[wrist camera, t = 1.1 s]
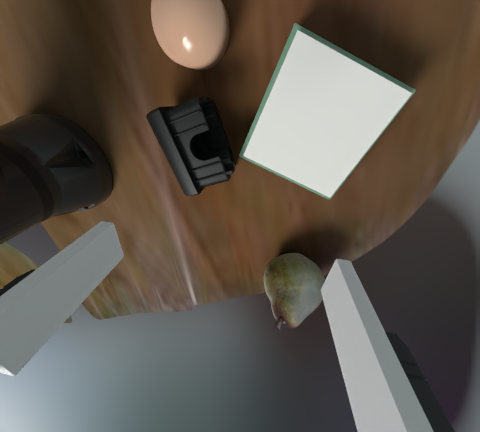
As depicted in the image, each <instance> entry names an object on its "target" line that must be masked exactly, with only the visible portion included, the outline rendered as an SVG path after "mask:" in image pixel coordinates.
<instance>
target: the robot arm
mask: <svg viewBox="0 0 480 432" xmlns="http://www.w3.org/2000/svg"><path fill="white" fill-rule="evenodd" d="M112 184H113V180H112V173H111V169H110V166H109V164H108V161H107V159H106V157H105V155H104V154H103V152H102V150H101V149H100V148H99V146H98V145H97V144H96V142H95V141H94V140H93V139H92V138H91V137H90V136H89V135H88V134H87V133H86V132H85V131H84V130H83V129H81V128H80V127H79V126H77V125H76V124H74V123H73V122H71V121H69V120H67V119H65V118H63V117H61V116H58V115H54V114H30V115H24V116H21V117H18V118H17V119H15V120H14V121H11V122H9V123H7V124H4V125H2V126H0V244H2V243H3V242H5V241H7V240H9V239H11V238H13V237H15V236H16V235H18V234H20V233H22V232H24V231H26V230H27V229H29V228H31V227H33V226H35V225H37V224H38V223H40V222H42V221H44V220H46V219H48V218H50V217H53V216H58V215H63V214H67V213H72V212H75V211H82V210H87V209H90V208H93V207H95V206H97V205H98V204H100V203H102V202H103V201H105V200H106V199H107V198H108V197H109V195H110V193H111V190H112ZM123 257H124V255H123V252H122V249H121V245H120V242H119V239H118V235H117V232H116V229H115V226H114V223H110V222H104V221H101V222H100V223H99V224H97V225H96V226H94V227H93V228H92V229H90V230H89V231H88V232H86V233H85V234H84V235H82V236H81V237H80V238H78V239H77V240H76V241H74V242H73V243H72V244H70V245H69V246H67V247H66V248H65V249H63V250H62V251H61V252H59V253H58V254H57V255H55V256H54V257H53V258H51V259H50V260H49V261H47V262H46V263H45V264H43V265H42V266H41V267H39V268H38V269H36V270H34V269H33V270H31V271H29V272H27V273H25V274H23V275H21V276H19V277H17V278H15V279H14V280H13V281H11V282H10V283H8V284H7V285H6V286H4V288H3V289H0V373H3V374H8V375H12V376H16V375H17V374H18V372H19V371H20V370H21V369H22V368H23V367H24V366H25V365H26V364H27V363H28V361H29V360H30V359H31V358H32V357H33V356H34V355H35V354H36V353H37V352H38V350H39V349H40V348H41V347H42V346H43V345H44V344H45V343H46V342H47V341H48V339H49V338H50V337H51V336H52V335H53V334H54V333H55V332H56V331H57V330H58V329H59V327H60V326H61V325H62V324H63V323H64V322H65V321H66V320H67V319H68V318H69V316H70V315H71V314H72V313H73V312H74V311H75V310H76V309H77V308H78V306H79V305H80V304H81V303H82V302H83V301H84V300H85V299H86V298H87V297H88V296H89V294H90V293H91V292H92V291H93V290H94V289H95V288H96V287H97V286H98V285H99V284H100V282H101V281H102V280H103V279H104V278H105V277H106V276H107V275H108V274H109V273H110V271H111V270H112V269H113V268H114V267H115V266H116V265H117V264H118V263H119V262H120V260H121V259H122V258H123ZM321 293H322V297H323V301H324V305H325V309H326V313H327V316H328V320H329V324H330V328H331V331H332V335H333V339H334V343H335V346H336V351H337V354H338V358H339V362H340V366H341V370H342V374H343V377H344V381H345V385H346V389H347V393H348V396H349V400H350V404H351V408H352V412H353V416H354V419H355V423H356V427H357V430H358V432H455V431H454V430H453V428H452V426H451V424H450V422H449V421H448V419H447V417H446V415H445V413H444V412H443V410H442V408H441V406H440V404H439V402H438V401H437V399H436V397H435V395H434V393H433V392H432V390H431V388H430V386H429V384H428V383H427V381H425V379H424V378H425V377H424V375H423V373H422V372H421V370H420V368H419V367H418V366H417V363H416V361H415V359H414V357H413V355H412V353H411V352H410V350H409V348H408V347H407V346H406V345H405V344H404V342H403V341H402V340H401V339H400V338H399V337H398V336H397V334H393V333H388V332H385V331H384V329H383V327H382V325H381V323H380V321H379V319H378V317H377V315H376V313H375V311H374V309H373V307H372V305H371V303H370V300H369V298H368V296H367V294H366V292H365V290H364V288H363V286H362V284H361V282H360V280H359V278H358V276H357V274H356V272H355V270H354V268H353V266H352V264H351V262H350V261H348V260H341V259H336V260H335V262H334V264H333V266H332V268H331V270H330V272H329V274H328V276H327V278H326V280H325V282H324V284H323V286H322V288H321Z"/></svg>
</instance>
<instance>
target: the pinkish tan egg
mask: <svg viewBox="0 0 480 432" xmlns="http://www.w3.org/2000/svg"><path fill="white" fill-rule="evenodd" d="M151 18H152V25H153V29H154V32H155V35H156V38H157V40H158V42H159V44H160V46H161V48H162V49H163V51H164V52H165V53H166V54H167V55H168V56H169V57H170V58H171V59H172V60H173V61H175V62H176V63H178V64H180V65H183V66H185V67H188V68H191V69H193V70H197V71H205V70H209V69H211V68H213V67H214V66H216V65H217V64H218V63H219V62H220V60H221V59H222V58H223V56H224V54H225V52H226V49H227V47H228V42H229V35H230V27H229V19H228V15H227V11H226V9H225V6H224V4H223V2H222V0H152V1H151Z"/></svg>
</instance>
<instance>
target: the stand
mask: <svg viewBox="0 0 480 432" xmlns="http://www.w3.org/2000/svg"><path fill="white" fill-rule="evenodd" d="M415 91H416V90H415V89H413V88H411V87H409V86H408V85H406V84H404V83H402V82H400V81H399V80H397V79H395V78H393V77H391V76H390V75H388V74H386V73H384V72H382V71H381V70H379V69H377V68H375V67H373V66H372V65H370V64H368V63H366V62H364V61H363V60H361V59H359V58H357V57H355V56H354V55H352V54H350V53H348V52H346V51H345V50H343V49H341V48H339V47H337V46H336V45H334V44H332V43H330V42H328V41H327V40H325V39H323V38H321V37H319V36H318V35H316V34H314V33H312V32H310V31H309V30H307V29H305V28H303V27H301V26H300V25H298V24H296V23H295V24H294V26H293V29H292V31H291V33H290V36H289V38H288V40H287V43H286V45H285V48H284V50H283V52H282V55H281V57H280V59H279V62H278V64H277V67H276V69H275V71H274V74H273V76H272V78H271V81H270V83H269V86H268V88H267V90H266V93H265V95H264V97H263V100H262V102H261V105H260V107H259V109H258V112H257V114H256V116H255V119H254V121H253V124H252V126H251V128H250V131H249V133H248V135H247V138H246V140H245V143H244V145H243V147H242V150H241V152H240V154H239V157H242V158H244V159H246V160H248V161H250V162H252V163H254V164H256V165H258V166H260V167H262V168H264V169H266V170H268V171H271V172H273V173H275V174H277V175H279V176H281V177H283V178H285V179H287V180H289V181H291V182H293V183H295V184H298V185H300V186H302V187H304V188H306V189H308V190H310V191H312V192H314V193H316V194H318V195H320V196H322V197H325V198H327V199H329V200H330V199H331V197H332V196H333V195H334V194H335V192H336V191H337V190H338V189H339V187H340V186H341V185H342V184H343V182H344V181H345V180H346V178H347V177H348V176H349V175H350V173H351V172H352V171H353V170H354V168H355V167H356V166H357V165H358V163H359V162H360V161H361V159H362V158H363V157H364V156H365V154H366V153H367V152H368V151H369V149H370V148H371V147H372V146H373V144H374V143H375V142H376V141H377V139H378V138H379V137H380V135H381V134H382V133H383V132H384V130H385V129H386V128H387V127H388V125H389V124H390V123H391V122H392V120H393V119H394V118H395V116H396V115H397V114H398V113H399V111H400V110H401V109H402V108H403V106H404V105H405V104H406V103H407V101H408V100H409V99H410V98H411V96H412V95H413V94H414V92H415Z"/></svg>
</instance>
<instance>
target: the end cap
mask: <svg viewBox="0 0 480 432" xmlns="http://www.w3.org/2000/svg"><path fill="white" fill-rule="evenodd" d="M146 117H147V120H148V122H149V124H150V126H151V128H152V130H153V132H154V134H155V136H156V138H157V140H158V142H159V144H160V146H161V148H162V150H163V152H164V154H165V156H166V158H167V160H168V162H169V164H170V166H171V168H172V170H173V172H174V174H175V176H176V178H177V180H178V182H179V184H180V186H181V188H182V190H183V192H184V194H185V195H188V196H193V195H198V194H200V193H201V191H202V190H203V189H204V188H205V187H206V186H210V185H214V184H217V183H221V182H225V181H228V180H229V179H230V177H231V175H232V174H233V172H234V171H235V168H234V167H235V161H234V158H233V155H232V152H231V149H230V146H229V143H228V140H227V137H226V134H225V131H224V128H223V125H222V122H221V119H220V116H219V113H218V110H217V108H216V105H215V102H214V101H213V100H211V99H210V98H207V97H202V98H200V97H199V96H197V97H195V98H192V99H190V100H188V101H186V102H183V103H181V104H179V105H176V106H171V107H159V108H157V109H154V110H153V111H151V112H149V113H148V114H147V116H146Z"/></svg>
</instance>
